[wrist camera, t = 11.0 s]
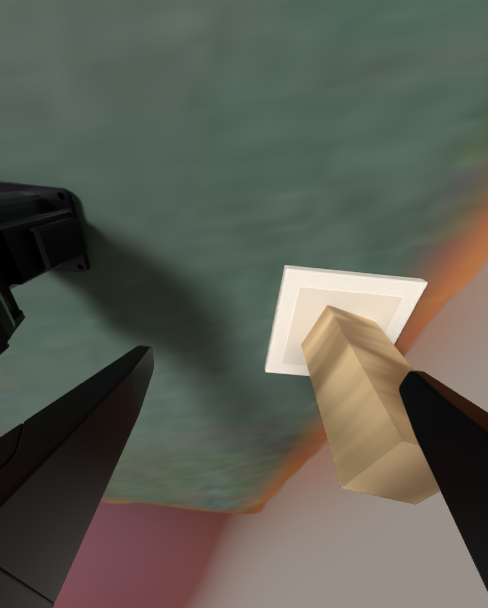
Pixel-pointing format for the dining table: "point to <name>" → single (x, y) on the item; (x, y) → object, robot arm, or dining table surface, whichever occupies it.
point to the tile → (338, 293)
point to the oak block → (365, 408)
